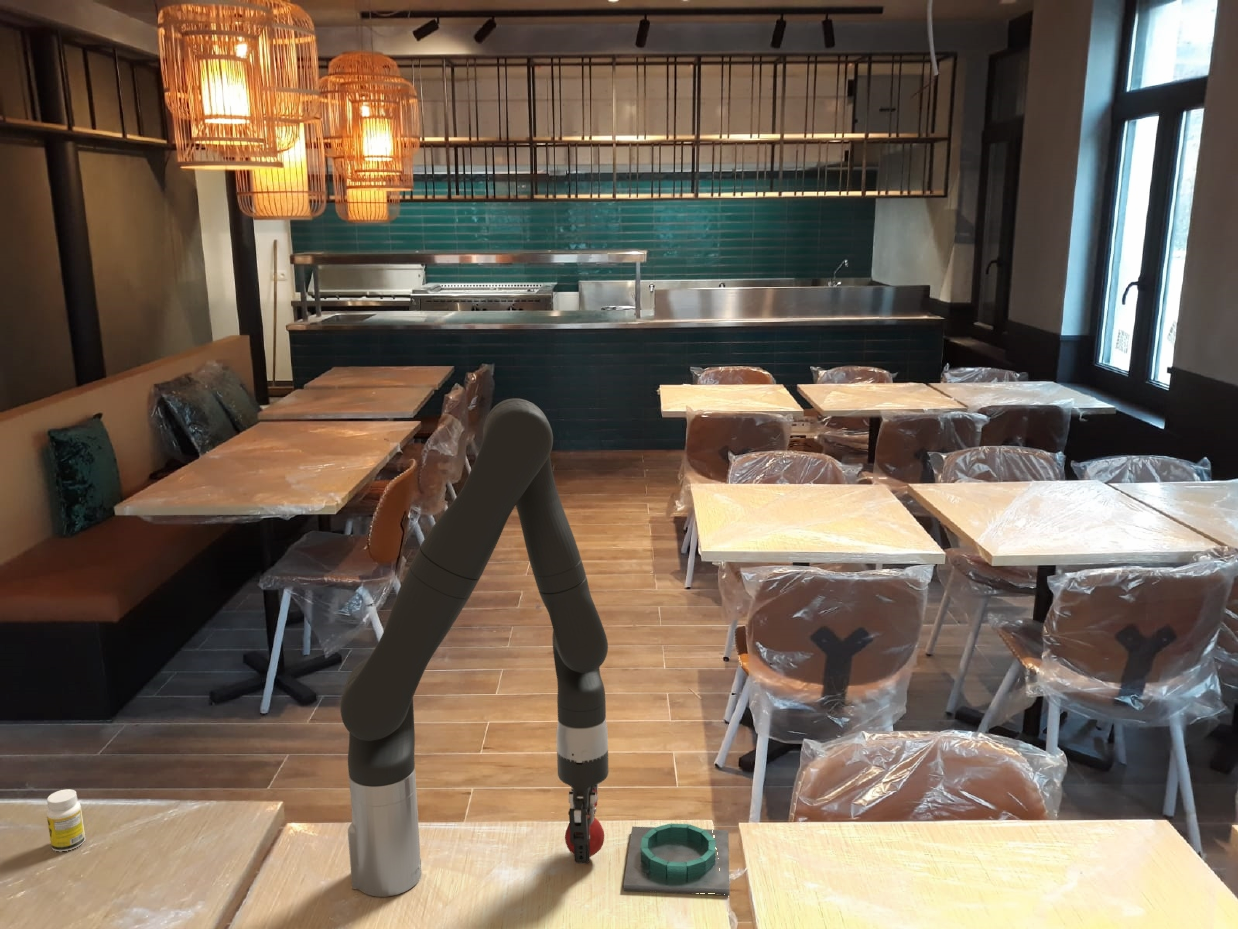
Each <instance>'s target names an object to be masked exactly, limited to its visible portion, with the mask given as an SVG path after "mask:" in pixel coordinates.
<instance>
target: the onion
mask: <svg viewBox="0 0 1238 929" xmlns="http://www.w3.org/2000/svg"><path fill="white" fill-rule="evenodd" d="M589 816H590V815H588V816H587V818H589ZM590 835H591V838H590V858H591V857H593V856H594V855H596V854H597V853H598V852H599V851H600V850H602V848H603V845H604V842H605V831H604V828H603V826H602V824H601V822H600V821H599V820H598V819H597V818H594V822H593V823H592V824H591V825H590ZM564 840H565V844H566V847H567V849H568V851H569V852H570V853H572V854H573V855H574V844H571V841H570V822H569V823H568V824H567V828H566V831H565V834H564Z"/></svg>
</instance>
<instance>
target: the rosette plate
mask: <svg viewBox="0 0 1238 929" xmlns="http://www.w3.org/2000/svg"><path fill="white" fill-rule="evenodd" d="M712 830H713V833H712ZM713 835H715V838H713ZM715 847H716V848H717V850H716V849H715ZM729 848H730V846H729V829H708V828H707V829H705V828H704V829H703V828H701V827H698V826H695V825H693V824H691V823H690V824H689V823H671V822H670V823H667V824H662V825H659V826H655V827H654V826H631V832H630V839H629V846H628V851H627V852H628V853H627V861H626V866H625V874H624V881H623V892H638V893H658V894H659V893H660V894H661V893H664V894H680V895H682V894H683V895H684V894H685V895H686V894H687V895H693V894H692V893H699V894H698V895H701V894H700V893H705V894H708V893H715V894H721V895H720V896H724V897H725V896H727V897H728V896H730V895H731V894H730V892H731V891H730V890H731V889H730V888H731V887H730V853H729V850H730V849H729ZM717 852H718V855H717ZM718 858H719V859H718ZM719 868H720V871H719ZM724 894H725V895H724Z"/></svg>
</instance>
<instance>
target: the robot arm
mask: <svg viewBox="0 0 1238 929" xmlns="http://www.w3.org/2000/svg"><path fill="white" fill-rule="evenodd" d="M553 444H554V435H553V430H552V426H551V424H550V422H549V420H548V417H547V416H546V415H545V413H544V412H543V411H542V410H541V408H539V407H538V406H537V405H536V404H535V403H533V402H530V401H529V400H526V399H522V398H509V399H504V400H502V401H499V403H497V404H496V405H494V406H493V408H492V409H491V410H490V411H489V413H488V414H487V416H486V419H485V421H484V424H483V427H482V442H481V445H480V448H479V451H478V453H477V456H476V457H475V461H474V462H473V465H472V467H471V470H470V471H469V474H468V476H467V478H466V481H465V483H464V485H463V486H462V487H461V490H460V491H459V493H458V494H457V495H456V497H455V498H454V500H453V501H452V502H451V503H450V504H449V506H448V507H447V508H446V510H444V512H443V513H442V515H441V516H440V517H439V518H438V519H437V521H435V523H434V525H433V526H432V527H431V529H430V530H429V531H428V533H427V534H426V536H425V537H424V539H423V541H422V543H421V544H420V546H419V548H418V549H417V552H416V554H415V556H414V557H413V559H412V560H411V563H410V565H409V567H408V569H407V571H406V573H405V575H404V578H403V579H402V582H401V584H400V586H399V589H398V591H397V594H396V597H395V599H394V602H393V604H392V606H391V610H390V613H389V616H388V618H387V622H386V625H385V627H384V629H383V632H382V634H381V636H380V639H379V640H378V643H377V644H376V646H375V648H374V650H373V651H372V653H371V654H370V656H369V657H368V658H366V659H364V660H362V661H361V662H359V663H357V665H356V666H355V667H354V668H353V669H352V671H350V674H349V675H348V678H347V680H346V684H345V686H344V689H343V691H342V694H341V698H340V705H339V706H340V708H339V710H340V717H341V720H342V723H343V725H344V727H345V729H346V730H347V731H348V732H349V734H348V735H349V736H348V738H349V739H348V752H347V754H348V755H347V769H348V779H349V780H348V782H349V791H350V792H349V793H350V794H349V795H350V805H351V818H352V819H351V820H352V822H351V823H350V825H349V826H348V828H347V839H348V840H347V841H348V851H349V864H350V865H349V867H350V878H351V889H353V890H354V889H355V890H359V891H361V892H362V893H364V894H366V895H368V896H373V897H380V898H383V897H385V898H386V897H392V896H396V895H400V894H404V893H405V892H407V891H409V890H411V889H412V888H413V887H414V886H416V884H418V883H419V881H420V880H421V877H422V858H421V844H420V828H419V812H418V810H419V809H418V798H417V797H418V795H417V794H418V793H417V781H416V779H417V778H416V767H415V766H416V765H415V764H416V763H415V742H416V739H415V738H416V734H415V733H416V732H415V717H414V716H415V715H414V714H415V712H414V710H415V709H414V696H415V693H416V691H417V689H418V686H419V684H420V681H421V679H422V677H423V675H424V672H426V669H427V666H428V664H429V663H430V661H431V660H432V657H433V656H434V654H435V653H436V651H437V650H438V648H439V646H440V645H441V644H442V642H443V640H444V639H445V638H446V636H447V635H448V633H449V631H450V630H451V628H452V627H453V625H454V624H455V622H456V620H457V618H458V617H459V615H460V614H461V612H462V611H463V608H464V607H465V605H466V604H467V603H468V601H469V599H470V598H471V595H472V594H473V592H474V590H475V588H476V586H477V585H478V583H479V581H480V578H481V577H482V575H483V574H484V571H485V569H486V567H487V565H488V563H489V561H490V559H491V557H492V555H493V553H494V550H495V548H496V546H497V544H498V542H499V540H500V538H501V535H502V533H503V530H504V528H505V526H506V523H507V522H508V519H509V517H510V516H511V514H512V512H513V510H514V509H515V507H516V510H517V515H518V518H519V522H520V526H521V531H522V534H523V540H524V545H525V550H526V553H527V555H528V561H529V564H530V568H531V570H532V575H533V577H534V581H535V583H536V587H537V590H538V593H539V595H540V599H541V600H542V602H543V604H544V606H545V608H546V611H547V612H548V616H549V618H550V623H551V627H552V651H553V662H554V668H555V674H556V682H557V697H556V698H557V700H556V702H557V725H556V726H557V728H556V758H557V759H556V761H557V762H556V763H557V777H558V779H559V780H560V781H561V782H562V783H563V784H565V785H567V786H569V787H570V790H569V791H568V803H569V810H568V815H569V816H568V818H569V819H568V820H569V823H570V841H571V844H574V854H573V857H574V859H573V860H574V862H575V864H588V863H590V859H591V857H590V838H591V835H590V825H591V824H592V823H593V822H594V818H595V817H596V816H595V815H596V812H597V808H596V807H597V806H598V800H599V796H598V794H599V784H601V783H602V782H604V781H605V780H606V779H607V777H608V776H609V735H608V734H609V733H608V731H609V730H608V725H607V714H606V713H607V712H606V711H607V710H606V691H605V685H604V682H603V679H602V677H601V671H600V667H601V666H602V665H603V664H604V663H605V660H606V658H607V656H608V652H609V643H608V639H607V635H606V631H605V628H604V625H603V622H602V619H601V618H600V616H599V613H598V610H597V607H596V605H595V603H594V601H593V597H592V595H591V591H590V588H589V582H588V578H587V574H586V570H585V567H584V565H583V564H584V563H583V560H582V558H581V554H580V551H579V548H578V544H577V542H576V539H575V536H574V534H573V531H572V528H571V526H570V522H569V520H568V517H567V515H566V512H565V510H564V507H563V504H562V501H561V499H560V494H559V492H558V489H557V486H556V482H555V477H554V473H553V468H552V460H551V452H552V449H553ZM588 815H590V816H589V818H587V816H588Z"/></svg>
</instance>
